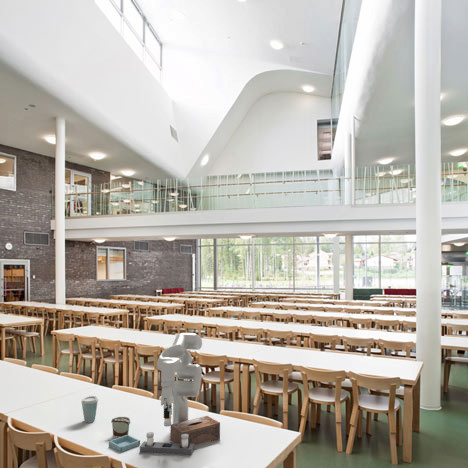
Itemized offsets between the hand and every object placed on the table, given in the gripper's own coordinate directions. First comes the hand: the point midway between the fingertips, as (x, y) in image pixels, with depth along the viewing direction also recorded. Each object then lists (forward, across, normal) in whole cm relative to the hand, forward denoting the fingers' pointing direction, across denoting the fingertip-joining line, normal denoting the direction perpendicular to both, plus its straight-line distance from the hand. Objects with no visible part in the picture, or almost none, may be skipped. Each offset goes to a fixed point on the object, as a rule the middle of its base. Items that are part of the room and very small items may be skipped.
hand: (167, 416), depth 238 cm
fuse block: (+20, 0, 0) cm, 20 cm away
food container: (+20, -21, -34) cm, 45 cm away
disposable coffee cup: (+20, -41, -65) cm, 80 cm away
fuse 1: (+19, 0, -10) cm, 21 cm away
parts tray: (+20, -4, -26) cm, 33 cm away
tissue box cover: (+20, -18, +12) cm, 30 cm away
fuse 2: (+19, 0, +10) cm, 21 cm away
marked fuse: (+5, 0, 0) cm, 5 cm away
